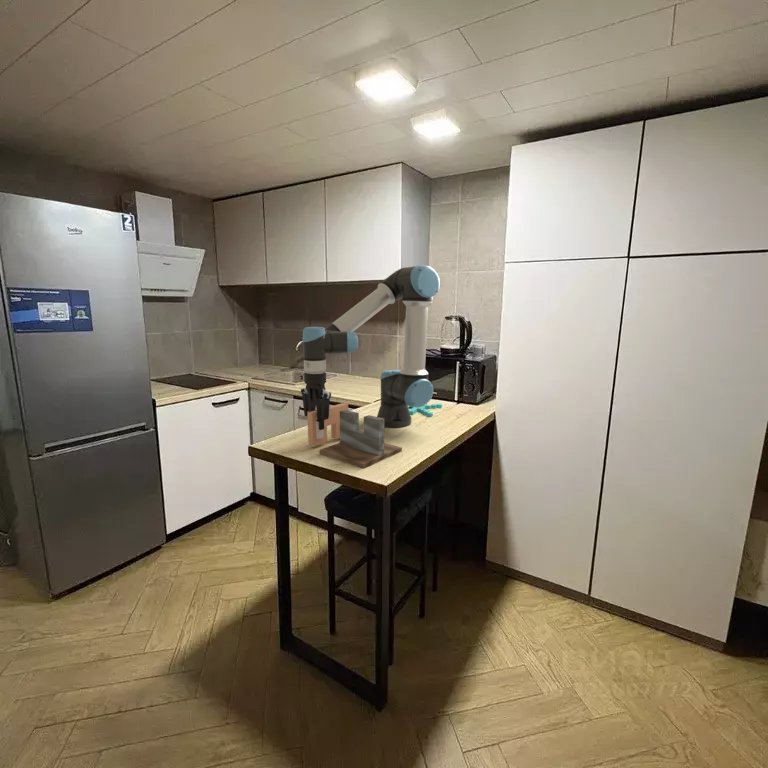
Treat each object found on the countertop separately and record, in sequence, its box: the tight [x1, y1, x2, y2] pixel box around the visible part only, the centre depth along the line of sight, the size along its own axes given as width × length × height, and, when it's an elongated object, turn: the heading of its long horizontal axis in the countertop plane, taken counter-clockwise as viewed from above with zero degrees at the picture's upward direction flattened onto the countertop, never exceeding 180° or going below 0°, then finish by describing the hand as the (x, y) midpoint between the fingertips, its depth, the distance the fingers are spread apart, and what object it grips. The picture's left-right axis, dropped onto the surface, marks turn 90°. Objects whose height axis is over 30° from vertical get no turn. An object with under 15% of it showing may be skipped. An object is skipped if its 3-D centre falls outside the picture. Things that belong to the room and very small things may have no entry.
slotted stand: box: [319, 409, 403, 469], centre depth 143 cm, size 20×20×14 cm
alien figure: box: [408, 403, 443, 418], centre depth 203 cm, size 20×2×20 cm
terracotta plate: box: [306, 402, 349, 448], centre depth 153 cm, size 18×2×12 cm, turn 141°
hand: (316, 437), depth 149 cm, fingers closed on terracotta plate, 2 cm apart
